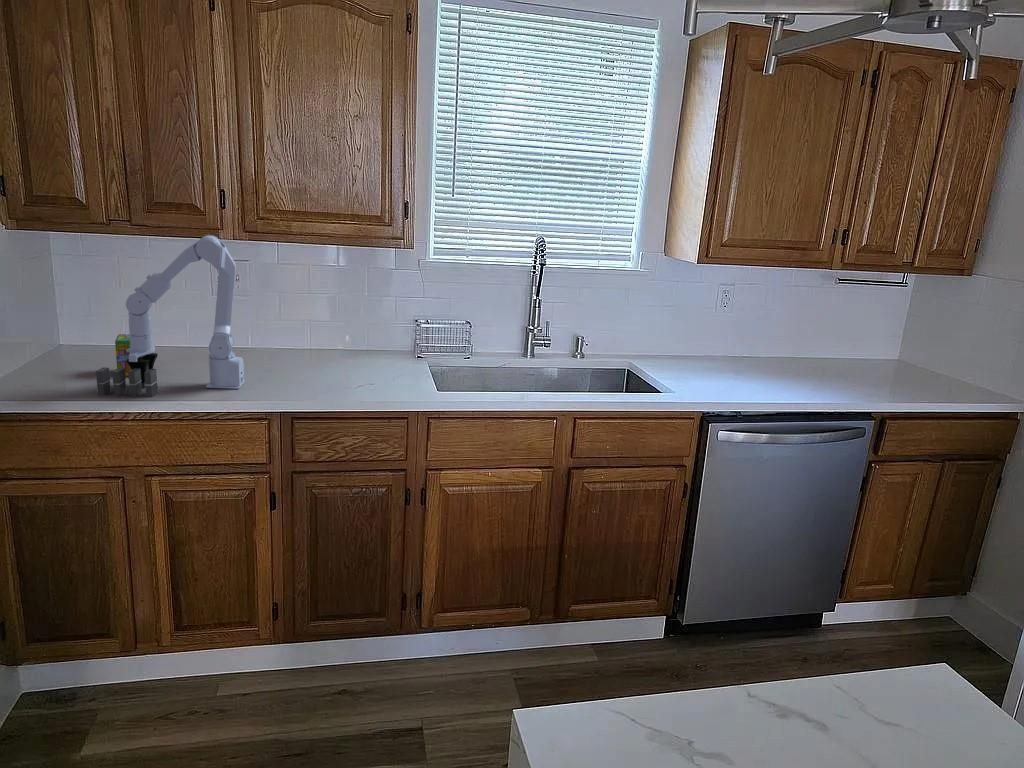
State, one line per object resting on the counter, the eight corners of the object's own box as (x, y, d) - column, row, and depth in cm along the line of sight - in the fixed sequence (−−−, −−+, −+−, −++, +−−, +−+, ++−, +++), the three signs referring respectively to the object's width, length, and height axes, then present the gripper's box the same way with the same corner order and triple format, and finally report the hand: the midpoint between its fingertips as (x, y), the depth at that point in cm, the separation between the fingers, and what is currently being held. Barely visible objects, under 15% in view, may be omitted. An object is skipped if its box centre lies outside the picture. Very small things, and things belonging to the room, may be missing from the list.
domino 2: (126, 391, 205) (124, 368, 203) (120, 396, 201) (118, 371, 199) (120, 391, 205) (118, 367, 203) (114, 396, 201) (112, 371, 199)
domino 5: (157, 392, 206) (156, 369, 205) (152, 397, 202) (150, 372, 200) (151, 392, 206) (150, 368, 204) (146, 397, 202) (144, 372, 200)
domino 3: (142, 392, 206) (140, 368, 204) (136, 396, 202) (134, 372, 200) (136, 392, 206) (134, 368, 204) (130, 396, 201) (128, 372, 200)
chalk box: (120, 369, 227) (116, 323, 223) (153, 369, 230) (150, 323, 226) (116, 377, 219) (112, 329, 215) (150, 376, 222) (147, 329, 218)
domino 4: (150, 384, 213) (148, 361, 212) (144, 388, 209) (143, 365, 207) (144, 384, 213) (142, 361, 211) (138, 388, 209) (137, 365, 207)
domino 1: (110, 391, 205) (108, 367, 203) (104, 395, 201) (102, 371, 199) (104, 391, 205) (102, 367, 203) (98, 395, 200) (95, 371, 199)
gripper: (135, 329, 214) (138, 373, 217) (115, 339, 200) (119, 386, 203) (160, 330, 215) (163, 374, 218) (142, 340, 201) (145, 387, 204)
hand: (144, 380), depth 211 cm, fingers closed on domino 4, 4 cm apart
